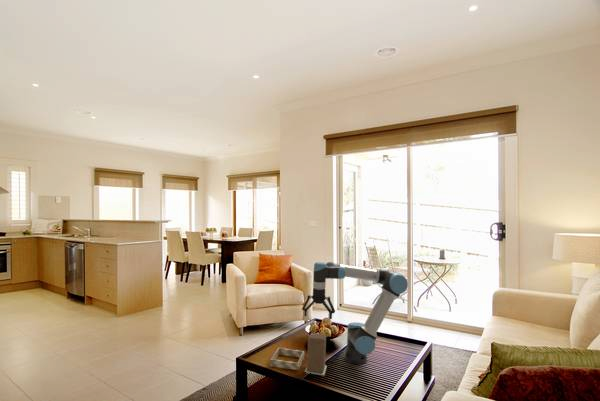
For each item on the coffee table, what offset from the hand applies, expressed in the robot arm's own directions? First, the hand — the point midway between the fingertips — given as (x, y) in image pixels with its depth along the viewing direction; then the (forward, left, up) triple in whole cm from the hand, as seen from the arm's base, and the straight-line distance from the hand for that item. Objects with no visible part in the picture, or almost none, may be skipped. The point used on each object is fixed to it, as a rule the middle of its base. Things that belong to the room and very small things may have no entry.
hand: (317, 323), depth 202 cm
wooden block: (0, 0, -28) cm, 28 cm away
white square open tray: (+19, -5, -28) cm, 34 cm away
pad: (0, 0, -28) cm, 28 cm away
